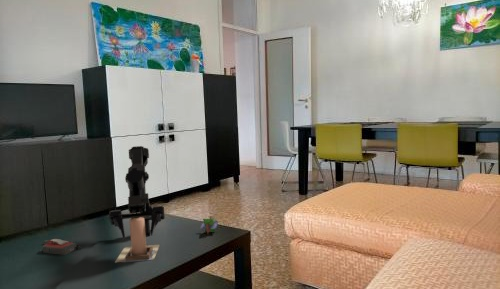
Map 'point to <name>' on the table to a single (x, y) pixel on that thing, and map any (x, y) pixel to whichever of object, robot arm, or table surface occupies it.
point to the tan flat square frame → (125, 252)
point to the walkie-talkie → (59, 247)
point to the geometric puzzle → (209, 225)
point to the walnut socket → (139, 257)
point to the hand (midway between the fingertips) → (137, 236)
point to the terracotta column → (138, 236)
